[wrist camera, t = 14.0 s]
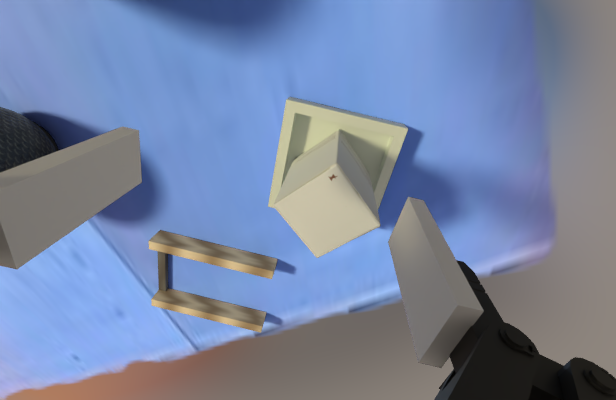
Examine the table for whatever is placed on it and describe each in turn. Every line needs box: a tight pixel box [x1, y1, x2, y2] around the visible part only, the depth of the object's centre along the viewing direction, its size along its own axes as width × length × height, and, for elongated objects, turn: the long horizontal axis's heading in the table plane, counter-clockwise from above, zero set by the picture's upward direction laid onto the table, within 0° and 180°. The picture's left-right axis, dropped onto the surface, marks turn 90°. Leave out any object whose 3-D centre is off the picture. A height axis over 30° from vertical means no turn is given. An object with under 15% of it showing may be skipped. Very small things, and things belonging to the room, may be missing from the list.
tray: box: [268, 97, 408, 210], centre depth 37 cm, size 14×14×2 cm
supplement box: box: [273, 129, 380, 258], centre depth 32 cm, size 7×7×13 cm
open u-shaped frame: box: [149, 230, 277, 332], centre depth 48 cm, size 19×14×3 cm
